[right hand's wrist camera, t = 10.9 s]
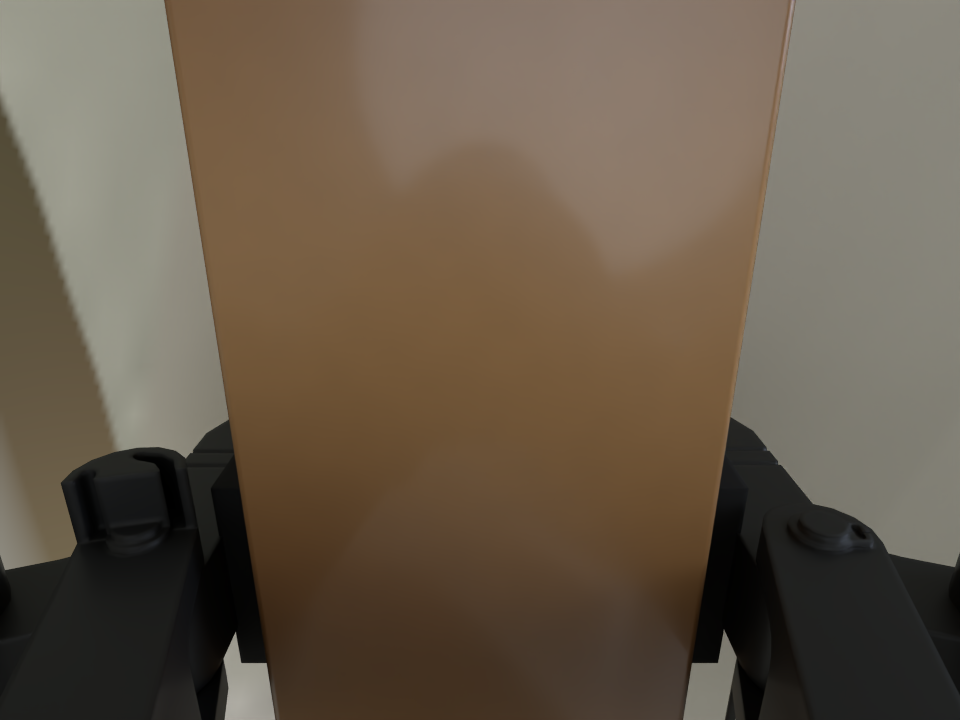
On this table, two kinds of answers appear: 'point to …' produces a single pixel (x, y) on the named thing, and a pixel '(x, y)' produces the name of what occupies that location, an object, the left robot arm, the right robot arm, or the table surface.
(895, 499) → the table surface
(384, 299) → the bar
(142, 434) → the table surface
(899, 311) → the table surface
